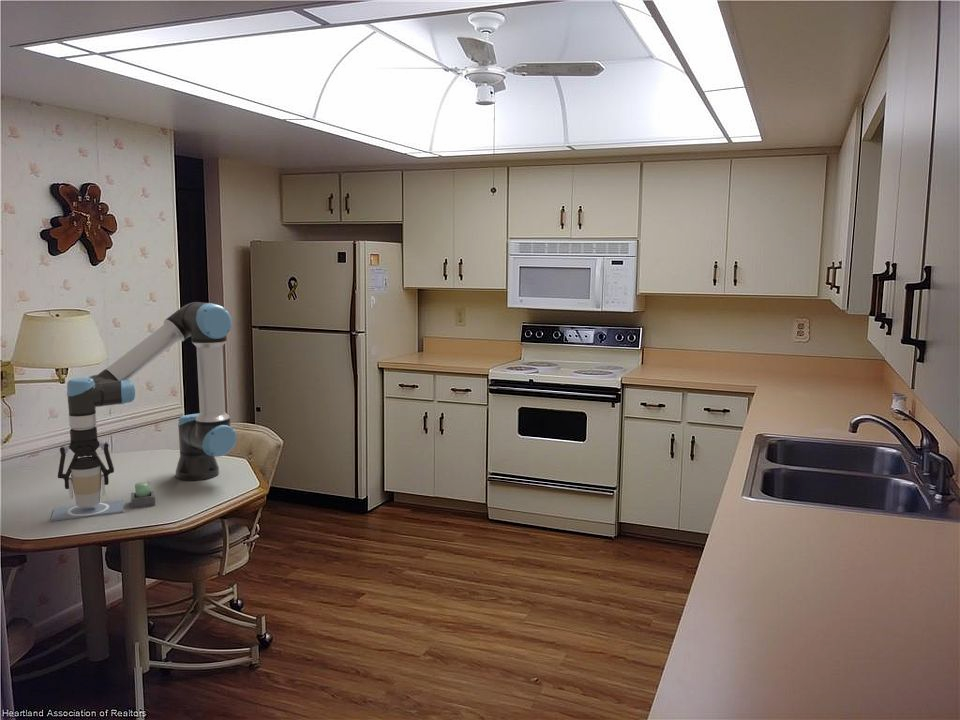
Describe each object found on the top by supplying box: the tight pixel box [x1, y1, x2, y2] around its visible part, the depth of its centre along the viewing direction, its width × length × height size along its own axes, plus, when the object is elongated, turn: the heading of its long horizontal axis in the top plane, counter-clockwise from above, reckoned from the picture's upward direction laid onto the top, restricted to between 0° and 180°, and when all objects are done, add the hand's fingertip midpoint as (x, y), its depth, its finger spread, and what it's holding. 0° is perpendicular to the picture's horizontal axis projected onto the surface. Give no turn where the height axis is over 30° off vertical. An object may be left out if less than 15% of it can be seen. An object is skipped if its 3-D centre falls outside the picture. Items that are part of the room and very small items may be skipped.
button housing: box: [130, 490, 156, 509], centre depth 247 cm, size 7×7×3 cm
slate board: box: [50, 499, 124, 522], centre depth 240 cm, size 20×12×1 cm, turn 115°
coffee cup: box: [70, 456, 102, 507], centre depth 239 cm, size 9×9×15 cm
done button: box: [134, 481, 151, 498], centre depth 247 cm, size 4×4×4 cm
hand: (87, 496), depth 239 cm, fingers closed on coffee cup, 8 cm apart
